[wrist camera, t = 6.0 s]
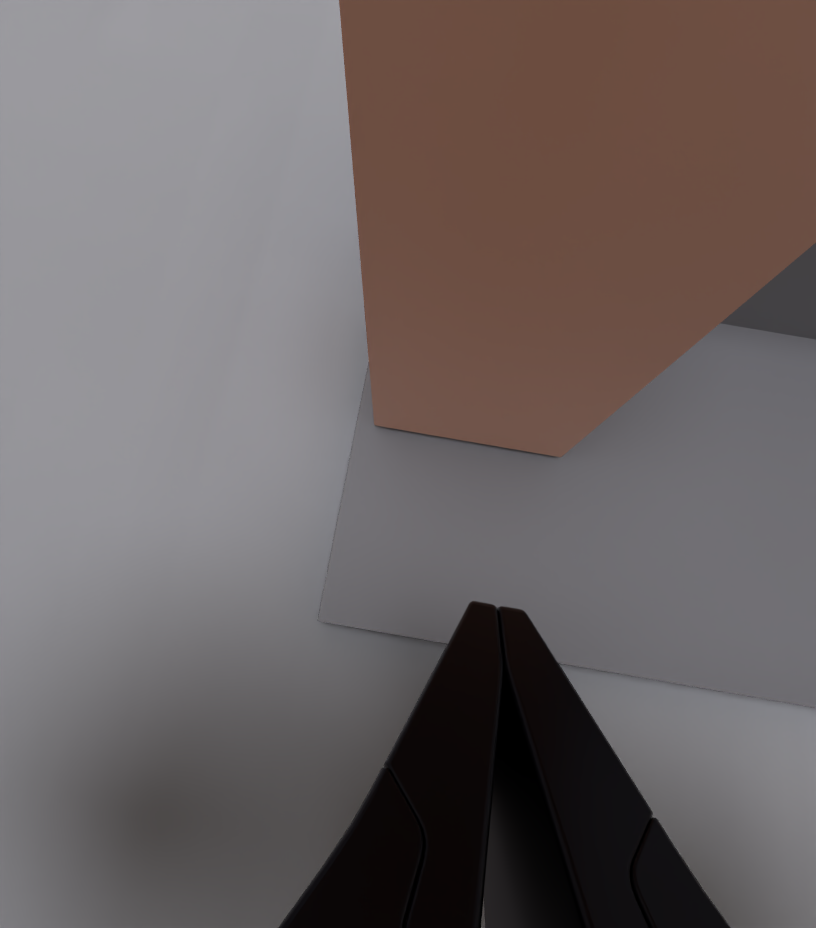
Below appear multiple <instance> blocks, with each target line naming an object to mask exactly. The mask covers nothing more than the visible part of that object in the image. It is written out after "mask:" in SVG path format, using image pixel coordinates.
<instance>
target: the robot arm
mask: <svg viewBox="0 0 816 928" xmlns="http://www.w3.org/2000/svg"><path fill="white" fill-rule="evenodd" d="M652 815H653V813H652V811H651V809H650V807H649V806H648V804H647V803H646V801H645V800H644V798H643V796H642V795H641V793H640V792H639V790H638V788H637V787H636V785H635V784H634V782H633V781H632V779H631V777H630V776H629V774H628V773H627V771H626V769H625V768H624V766H623V765H622V763H621V762H620V760H619V758H618V757H617V755H616V754H615V752H614V751H613V749H612V747H611V746H610V744H609V743H608V741H607V739H606V738H605V736H604V735H603V733H602V732H601V730H600V728H599V727H598V725H597V724H596V722H595V720H594V719H593V717H592V716H591V714H590V713H589V711H588V709H587V708H586V706H585V705H584V703H583V701H582V700H581V698H580V697H579V695H578V694H577V692H576V690H575V689H574V687H573V686H572V684H571V683H570V681H569V679H568V678H567V676H566V675H565V673H564V671H563V670H562V668H561V667H560V665H559V664H558V662H557V660H556V659H555V657H554V656H553V654H552V652H551V651H550V649H549V648H548V646H547V645H546V643H545V641H544V640H543V638H542V637H541V635H540V634H539V632H538V630H537V629H536V627H535V626H534V624H533V622H532V621H531V619H530V618H529V616H528V615H527V613H526V612H525V611H524V610H521V609H516V608H511V607H505V606H500V607H498V608H497V607H496V606H495V605H493V604H489V603H483V602H478V601H471V602H470V603H469V604H468V606H467V608H466V610H465V612H464V614H463V616H462V618H461V620H460V621H459V623H458V625H457V627H456V629H455V631H454V633H453V635H452V637H451V638H450V640H449V642H448V644H447V646H446V648H445V650H444V652H443V654H442V656H441V657H440V659H439V661H438V663H437V665H436V667H435V669H434V671H433V673H432V675H431V676H430V678H429V680H428V682H427V684H426V686H425V688H424V690H423V692H422V694H421V695H420V697H419V699H418V701H417V703H416V705H415V707H414V709H413V711H412V712H411V714H410V716H409V718H408V720H407V722H406V724H405V726H404V728H403V730H402V731H401V733H400V735H399V737H398V739H397V741H396V743H395V745H394V747H393V749H392V750H391V752H390V754H389V756H388V758H387V760H386V762H385V764H384V768H382V769H381V771H380V772H379V774H378V776H377V778H376V780H375V782H374V784H373V786H372V788H371V790H370V791H369V793H368V795H367V797H366V798H365V800H364V802H363V804H362V805H361V807H360V809H359V811H358V812H357V814H356V816H355V818H354V819H353V821H352V823H351V825H350V826H349V828H348V829H347V831H346V832H345V834H344V835H343V837H342V838H341V840H340V841H339V843H338V844H337V846H336V847H335V849H334V850H333V852H332V853H331V855H330V856H329V858H328V859H327V861H326V862H325V864H324V865H323V867H322V868H321V869H320V871H319V872H318V873H317V875H316V876H315V878H314V879H313V880H312V882H311V883H310V885H309V886H308V887H307V889H306V890H305V892H304V893H303V894H302V896H301V897H300V899H299V900H298V901H297V903H296V904H295V905H294V907H293V908H292V910H291V911H290V912H289V914H288V915H287V917H286V918H285V919H284V921H283V922H282V924H281V925H280V926H279V928H481V918H482V907H483V896H484V910H485V928H730V926H729V925H728V923H727V922H726V921H725V919H724V918H723V917H722V915H721V914H720V912H719V911H718V910H717V908H716V907H715V905H714V904H713V903H712V901H711V900H710V899H709V897H708V896H707V894H706V893H705V892H704V890H703V889H702V887H701V886H700V884H699V883H698V881H697V880H696V878H695V877H694V875H693V874H692V872H691V871H690V869H689V868H688V866H687V865H686V863H685V862H684V860H683V859H682V857H681V856H680V854H679V853H678V851H677V850H676V848H675V846H674V845H673V843H672V842H671V840H670V839H669V837H668V835H667V834H666V832H665V831H664V829H663V828H662V826H661V824H660V823H659V821H658V820H657V819H656V818H652Z"/></svg>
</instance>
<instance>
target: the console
mask: <svg viewBox="0 0 816 928" xmlns="http://www.w3.org/2000/svg"><path fill="white" fill-rule="evenodd" d="M471 601H478V602H483V603H489V604H493V605H495V606H496V607H497V608H498V607H500V606H505V607H511V608H516V609H521V610H524V611H525V612H526V613H527V615H528V616H529V618H530V619H531V621H532V622H533V624H534V626H535V627H536V629H537V630H538V632H539V634H540V635H541V637H542V638H543V640H544V641H545V643H546V645H547V646H548V648H549V649H550V651H551V652H552V654H553V656H554V657H555V659H556V660H557V662H558V663H561V664H566V665H572V666H578V667H584V668H589V669H595V670H601V671H606V672H612V673H618V674H624V675H629V676H635V677H641V678H647V679H652V680H658V681H664V682H669V683H675V684H681V685H687V686H692V687H698V688H704V689H710V690H715V691H721V692H727V693H732V694H738V695H744V696H750V697H755V698H761V699H767V700H773V701H778V702H784V703H790V704H795V705H801V706H807V707H813V708H816V243H815V244H813V245H812V246H811V247H810V248H809V249H808V250H806V251H805V252H804V253H803V254H802V255H800V256H799V257H798V258H797V259H796V260H794V261H793V262H792V263H791V264H790V265H789V266H787V267H786V268H785V269H784V270H783V271H781V272H780V273H779V274H778V275H777V276H775V277H774V278H773V279H772V280H771V281H770V282H768V283H767V284H766V285H765V286H764V287H762V288H761V289H760V290H759V291H758V292H756V293H755V294H754V295H753V296H752V297H751V298H749V299H748V300H747V301H746V302H745V303H743V304H742V305H741V306H740V307H739V308H738V309H736V310H735V311H734V312H733V313H732V314H730V315H729V316H728V317H727V318H726V319H724V320H723V321H722V322H721V323H720V324H719V325H717V326H716V327H715V328H714V329H713V330H711V331H710V332H709V333H708V334H707V335H705V336H704V337H703V338H702V339H701V340H700V341H698V342H697V343H696V344H695V345H694V346H692V347H691V348H690V349H689V350H688V351H686V352H685V353H684V354H683V355H682V356H681V357H679V358H678V359H677V360H676V361H675V362H673V363H672V364H671V365H670V366H669V367H667V368H666V369H665V370H664V371H663V372H662V373H660V374H659V375H658V376H657V377H656V378H654V379H653V380H652V381H651V382H650V383H649V384H647V385H646V386H645V387H644V388H643V389H641V390H640V391H639V392H638V393H637V394H635V395H634V396H633V397H632V398H631V399H630V400H628V401H627V402H626V403H625V404H624V405H622V406H621V407H620V408H619V409H618V410H616V411H615V412H614V413H613V414H612V415H611V416H609V417H608V418H607V419H606V420H605V421H603V422H602V423H601V424H600V425H599V426H597V427H596V428H595V429H594V430H593V431H592V432H590V433H589V434H588V435H587V436H586V437H584V438H583V439H582V440H581V441H580V442H579V443H577V444H576V445H575V446H574V447H573V448H571V449H570V450H569V451H568V452H567V453H565V454H564V455H563V456H562V457H556V456H550V455H544V454H538V453H533V452H527V451H521V450H515V449H509V448H504V447H498V446H492V445H486V444H480V443H474V442H469V441H463V440H457V439H451V438H445V437H440V436H434V435H428V434H422V433H416V432H411V431H405V430H399V429H393V428H387V427H381V426H376V425H374V417H373V405H372V393H371V381H370V369H369V362H368V368H367V373H366V378H365V383H364V388H363V393H362V398H361V403H360V408H359V413H358V418H357V423H356V428H355V433H354V438H353V443H352V448H351V454H350V459H349V464H348V469H347V474H346V479H345V484H344V489H343V494H342V499H341V504H340V509H339V514H338V519H337V524H336V529H335V534H334V539H333V545H332V550H331V555H330V560H329V565H328V570H327V575H326V580H325V585H324V590H323V595H322V600H321V605H320V610H319V615H318V620H317V621H320V622H326V623H332V624H337V625H343V626H349V627H354V628H360V629H366V630H372V631H377V632H383V633H389V634H395V635H400V636H406V637H412V638H417V639H423V640H429V641H435V642H440V643H446V644H448V642H449V640H450V638H451V637H452V635H453V633H454V631H455V629H456V627H457V625H458V623H459V621H460V620H461V618H462V616H463V614H464V612H465V610H466V608H467V606H468V604H469V603H470V602H471Z"/></svg>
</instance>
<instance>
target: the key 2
mask: <svg viewBox="0 0 816 928" xmlns="http://www.w3.org/2000/svg"><path fill="white" fill-rule="evenodd" d="M339 4H340V16H341V28H342V40H343V53H344V65H345V77H346V89H347V101H348V113H349V126H350V138H351V150H352V162H353V174H354V186H355V198H356V211H357V223H358V235H359V247H360V259H361V271H362V284H363V296H364V308H365V320H366V332H367V344H368V356H369V369H370V381H371V393H372V405H373V417H374V425H376V426H381V427H387V428H393V429H399V430H405V431H411V432H416V433H422V434H428V435H434V436H440V437H445V438H451V439H457V440H463V441H469V442H474V443H480V444H486V445H492V446H498V447H504V448H509V449H515V450H521V451H527V452H533V453H538V454H544V455H550V456H556V457H562V456H563V455H564V454H565V453H567V452H568V451H569V450H570V449H571V448H573V447H574V446H575V445H576V444H577V443H579V442H580V441H581V440H582V439H583V438H584V437H586V436H587V435H588V434H589V433H590V432H592V431H593V430H594V429H595V428H596V427H597V426H599V425H600V424H601V423H602V422H603V421H605V420H606V419H607V418H608V417H609V416H611V415H612V414H613V413H614V412H615V411H616V410H618V409H619V408H620V407H621V406H622V405H624V404H625V403H626V402H627V401H628V400H630V399H631V398H632V397H633V396H634V395H635V394H637V393H638V392H639V391H640V390H641V389H643V388H644V387H645V386H646V385H647V384H649V383H650V382H651V381H652V380H653V379H654V378H656V377H657V376H658V375H659V374H660V373H662V372H663V371H664V370H665V369H666V368H667V367H669V366H670V365H671V364H672V363H673V362H675V361H676V360H677V359H678V358H679V357H681V356H682V355H683V354H684V353H685V352H686V351H688V350H689V349H690V348H691V347H692V346H694V345H695V344H696V343H697V342H698V341H700V340H701V339H702V338H703V337H704V336H705V335H707V334H708V333H709V332H710V331H711V330H713V329H714V328H715V327H716V326H717V325H719V324H720V323H721V322H722V321H723V320H724V319H726V318H727V317H728V316H729V315H730V314H732V313H733V312H734V311H735V310H736V309H738V308H739V307H740V306H741V305H742V304H743V303H745V302H746V301H747V300H748V299H749V298H751V297H752V296H753V295H754V294H755V293H756V292H758V291H759V290H760V289H761V288H762V287H764V286H765V285H766V284H767V283H768V282H770V281H771V280H772V279H773V278H774V277H775V276H777V275H778V274H779V273H780V272H781V271H783V270H784V269H785V268H786V267H787V266H789V265H790V264H791V263H792V262H793V261H794V260H796V259H797V258H798V257H799V256H800V255H802V254H803V253H804V252H805V251H806V250H808V249H809V248H810V247H811V246H812V245H813V244H815V243H816V0H339Z"/></svg>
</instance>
